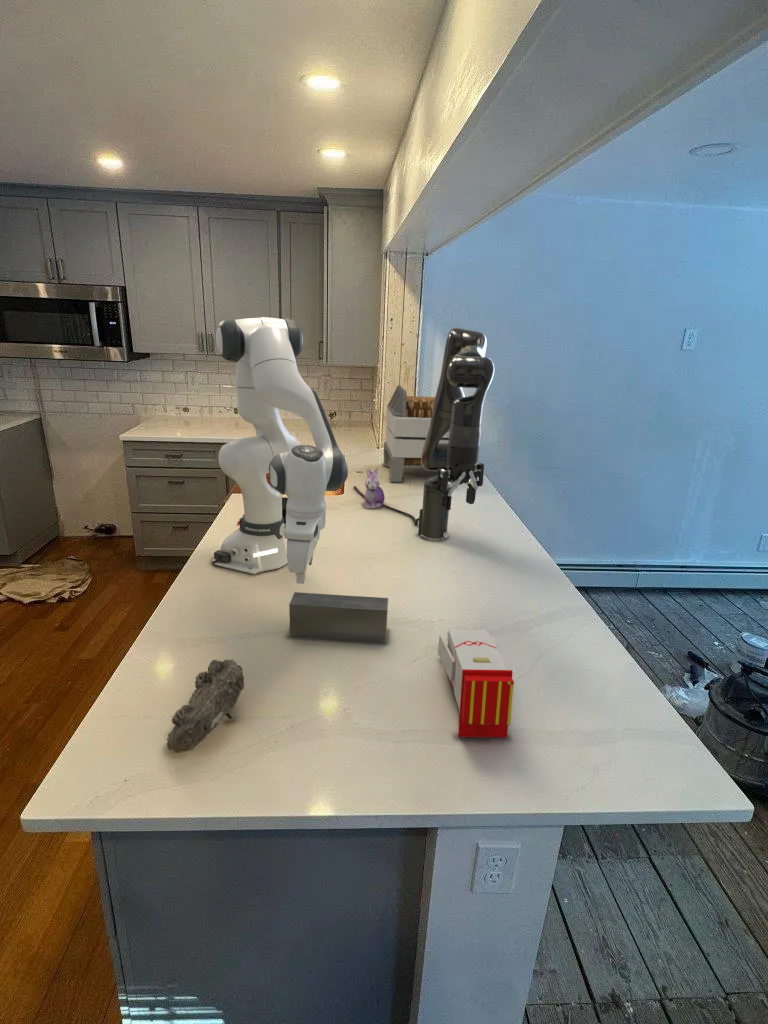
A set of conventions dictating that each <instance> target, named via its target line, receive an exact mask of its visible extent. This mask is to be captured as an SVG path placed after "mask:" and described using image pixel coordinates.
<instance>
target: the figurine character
mask: <svg viewBox="0 0 768 1024" xmlns="http://www.w3.org/2000/svg"><path fill="white" fill-rule="evenodd" d="M287 500H288V497H285V496H284V497H283V496H282V516H283V518H284V525H286V504H287Z"/></svg>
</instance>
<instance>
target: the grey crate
mask: <svg viewBox="0 0 768 1024" xmlns="http://www.w3.org/2000/svg"><path fill="white" fill-rule="evenodd" d="M407 394H408V393H407V390H406V389H404V388H403V387H402V385H399V384H398V385H397V386H396V388H395V390H394V392H393V394H392V395H391V398H390V400H389V402H388V404H387V405H386V413H385V414H386V415H385V423H386V428H385V438H384V442H383V466H384V467H388V468H389V475H388V476H389V477H388V478H389V480H390V482H391V483H402V482H403V475H404V469H405V466H406V467H407V466H411V467H412V466H413V467H415V466H416V467H417V466H418V467H422V465H421V454H422V449H423V446H424V443H425V439H426V436H427V433H428V430H429V426H430V421H431V416H432V410H433V405H434V400H435V396H415V395H414V396H413V395H412V396H411V395H407ZM448 441H449V432H448V433H447V434H446V435H445V436H443V437H442V439H441V440H440V441H439V443H448ZM452 483H453V482H452Z"/></svg>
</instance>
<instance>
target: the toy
mask: <svg viewBox="0 0 768 1024" xmlns="http://www.w3.org/2000/svg"><path fill="white" fill-rule="evenodd" d="M446 640H447V643H446V641H445V639H444V636H443V635H442V634H439V637H438V646H437V656H438V657H439V659H440V661H441V663H442V666H443V668H444V670H445V672H446V674H447V677H448V679H449V681H450V684H451V687H452V690H453V693H454V697H455V701H456V705H457V708H458V711H459V714H458V715H459V716H458V730H457V731H458V732H457V737H458V738H508V731H509V726H510V725H511V717H512V707H513V697H514V696H513V695H514V684H515V680H514V679H513V673H514V671H513V670H512V669H508V667H507V665H506V662H505V661H504V659H503V658H502V655H501V653H500V651H499V649H498V647H497V643H496V639H495V637H494V635H493V634H491V632H490V631H489V629H467V628H466V629H465V628H463V629H461V628H460V629H459V628H448V630H447V639H446Z"/></svg>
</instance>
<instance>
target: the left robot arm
mask: <svg viewBox="0 0 768 1024" xmlns="http://www.w3.org/2000/svg"><path fill="white" fill-rule="evenodd" d="M303 337H304V336H303V333H302V329H301V327H300V325H299V323H298V322H297V321H296V320H294V319H291V318H286V317H283V318H279V317H278V318H277V317H265V316H258V317H250V318H249V317H247V318H239V319H238V318H237V319H235V318H228V319H224V320H221V322H219V324H218V326H217V330H216V333H215V345H216V347H217V350H218V352H219V356H221V357H222V359H224V360H225V361H228V362H233V363H236V364H235V386H236V399H237V412H238V414H239V416H240V417H241V418H242V419H243V420H244V421H245V422H247V423H249V424H252V425H253V427H254V430H255V434H256V435H255V436H249V437H243V438H236V439H235V440H231V441H229V442H226V443H225V444H223V445H222V446H221V447H220V450H219V452H218V463H219V467H220V469H221V471H222V472H223V473H224V474H225V475H226V476H227V477H228V478H230V479H232V480H233V481H234V482H235V483H236V484H237V486H238V487H239V490H240V492H241V495H242V502H243V509H244V510H243V515H242V517H240V518H239V520H238V521H236V527H238V526H239V528H237V529H236V530H234V531H233V532H232V533H230V534H229V535H227V536H226V537H225V538H224V540H222V543H221V546H220V549H217V550H216V551H214V552H213V559H212V562H211V563H212V565H215V566H219V567H223V568H226V569H231V570H235V571H239V572H243V573H248V574H252V575H255V574H259V573H262V572H267V571H273V570H277V569H280V568H282V567H284V566H285V565H287V568H288V571H289V573H291V574H295V576H296V583H297V585H298V584H299V585H303V584H305V583H306V577H307V575H306V573H307V569H308V567H309V566H311V565H312V564H313V561H314V553H315V550H316V547H317V545H318V542H319V540H320V537H321V536H320V534H321V531H322V530H324V528H325V527H326V516H327V515H326V514H327V512H326V511H327V504H326V500H325V495H326V492H337V491H338V490H339V489H340V488H341V487H342V486H344V484H345V482H346V481H347V479H348V475H349V468H348V463H347V460H346V458H345V457H344V454H343V453H342V451H341V449H340V448H339V445H338V443H337V441H336V438H335V435H334V433H333V429H332V427H331V425H330V422H329V419H328V417H327V415H326V411H325V409H324V406H323V404H322V401H321V400H320V397H319V395H318V393H317V392H316V390H315V389H313V388H312V387H310V386H309V385H308V384H307V383H306V382H305V380H304V379H303V378H302V376H301V374H300V372H299V368H298V365H297V360H296V358H298V356H299V355H300V354H301V353H302V350H303V345H304V344H303V343H304V338H303ZM280 410H283V411H286V412H288V413H289V412H290V413H292V414H294V415H296V416H298V417H300V418H301V419H302V420H304V422H305V423H306V424H307V426H308V429H309V432H310V434H311V437H312V439H313V442H314V445H315V446H314V445H309V444H301V443H300V441H299V439H298V437H296V436H295V435H294V434H292V432H290V431H289V430H288V429H287V427H286V425H285V424H284V422H283V419H282V416H281V412H280ZM267 475H268V479H267ZM268 481H269V483H268ZM284 495H285V496H286V498H288V500H287V504H286V524H284V518H283V516H282V497H283V496H284ZM285 539H286V545H285Z"/></svg>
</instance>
